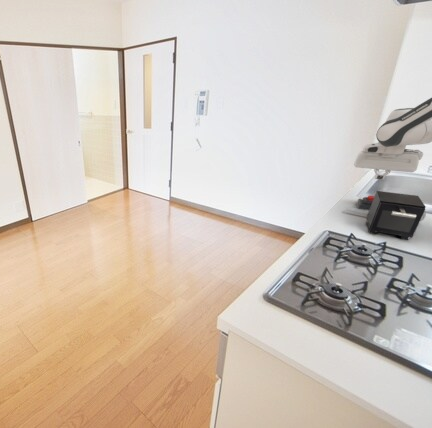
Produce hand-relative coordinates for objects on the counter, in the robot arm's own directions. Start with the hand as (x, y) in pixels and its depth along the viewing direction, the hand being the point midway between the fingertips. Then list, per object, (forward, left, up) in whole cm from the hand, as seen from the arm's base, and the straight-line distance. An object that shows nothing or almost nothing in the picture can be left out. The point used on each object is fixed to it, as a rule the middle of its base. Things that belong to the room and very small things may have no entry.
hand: (378, 179), depth 125 cm
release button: (0, 0, -10) cm, 10 cm away
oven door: (-4, +34, -12) cm, 36 cm away
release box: (0, 0, -14) cm, 14 cm away
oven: (-4, +25, -14) cm, 28 cm away
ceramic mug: (-10, +12, -14) cm, 21 cm away
